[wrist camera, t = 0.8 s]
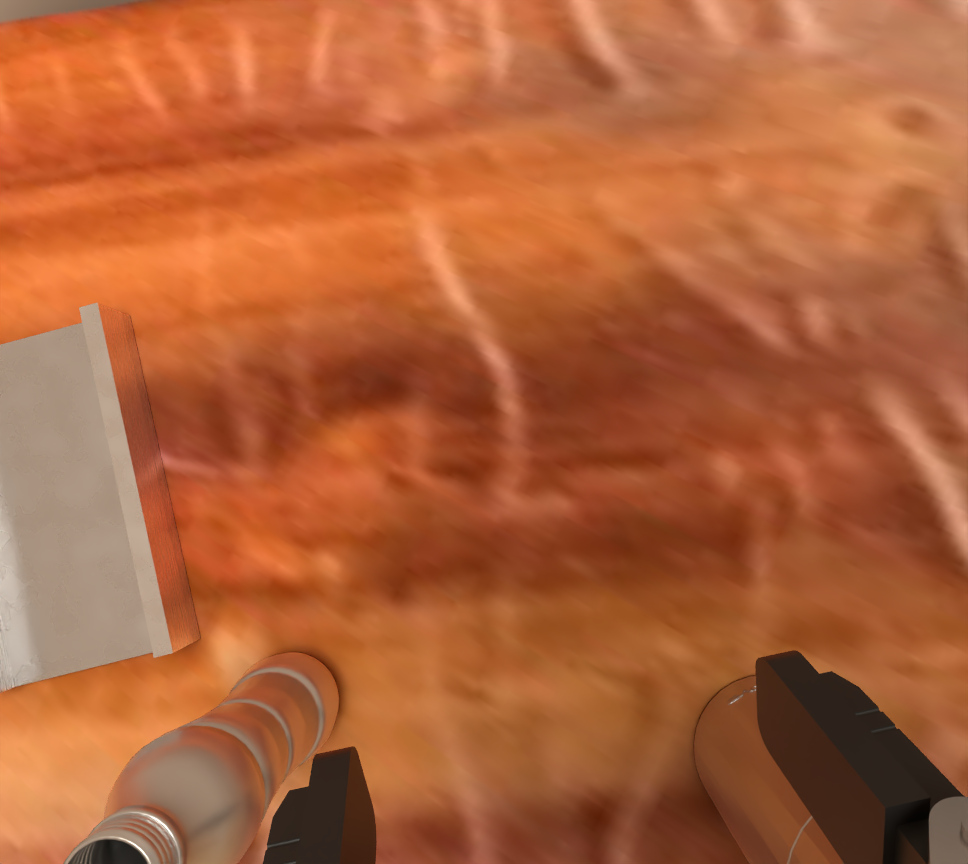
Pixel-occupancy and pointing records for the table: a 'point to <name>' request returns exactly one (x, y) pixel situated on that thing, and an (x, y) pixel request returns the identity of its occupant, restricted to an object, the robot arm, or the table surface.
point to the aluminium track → (84, 507)
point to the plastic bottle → (216, 770)
